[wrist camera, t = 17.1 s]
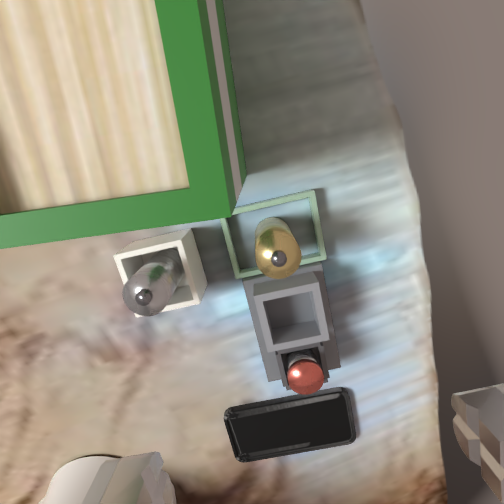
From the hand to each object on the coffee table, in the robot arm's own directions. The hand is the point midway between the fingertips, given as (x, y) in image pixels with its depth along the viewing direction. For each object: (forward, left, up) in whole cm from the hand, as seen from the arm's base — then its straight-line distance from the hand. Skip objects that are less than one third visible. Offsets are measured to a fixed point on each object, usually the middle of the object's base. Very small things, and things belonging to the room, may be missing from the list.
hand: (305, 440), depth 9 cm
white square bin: (-1, +10, -25) cm, 27 cm away
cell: (0, -1, -25) cm, 25 cm away
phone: (-24, +2, -26) cm, 35 cm away
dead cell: (-1, +10, -25) cm, 27 cm away
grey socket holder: (-10, -1, -25) cm, 27 cm away
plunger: (-13, -1, -22) cm, 26 cm away
